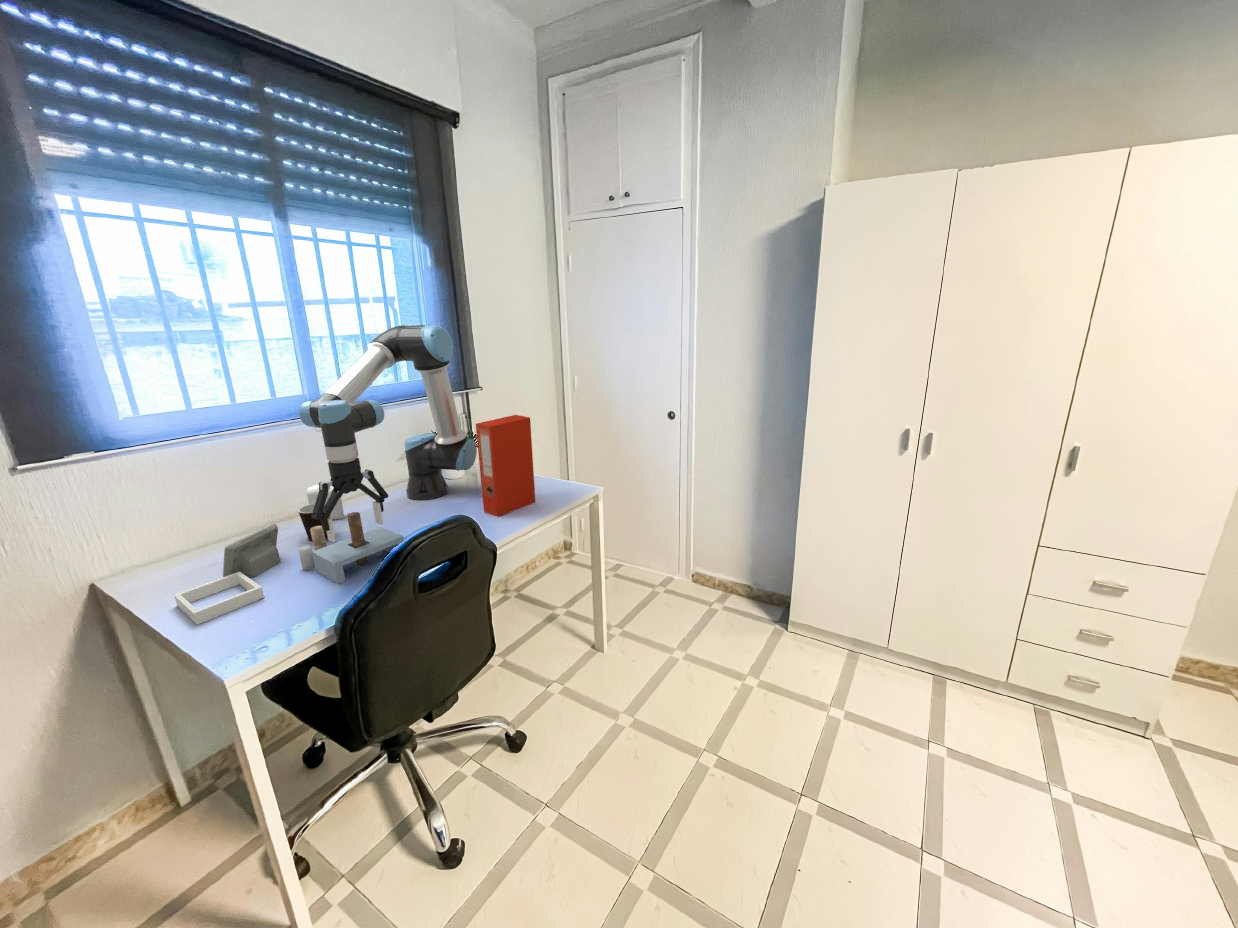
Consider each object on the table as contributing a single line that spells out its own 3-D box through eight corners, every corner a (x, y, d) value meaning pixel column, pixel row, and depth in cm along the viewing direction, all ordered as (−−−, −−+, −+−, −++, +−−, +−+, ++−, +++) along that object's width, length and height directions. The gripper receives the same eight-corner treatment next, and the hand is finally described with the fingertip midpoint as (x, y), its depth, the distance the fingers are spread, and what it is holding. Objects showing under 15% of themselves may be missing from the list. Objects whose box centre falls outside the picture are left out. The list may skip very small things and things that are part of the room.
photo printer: (346, 515, 182) (340, 481, 178) (341, 519, 178) (335, 486, 174) (315, 517, 180) (308, 483, 177) (310, 521, 176) (302, 487, 173)
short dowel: (312, 563, 147) (308, 544, 146) (317, 566, 146) (313, 547, 144) (300, 568, 145) (296, 548, 143) (305, 571, 143) (301, 551, 141)
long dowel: (364, 559, 149) (356, 511, 145) (370, 562, 148) (362, 513, 143) (353, 563, 147) (344, 514, 142) (359, 566, 145) (350, 517, 141)
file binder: (536, 502, 190) (530, 417, 180) (498, 517, 177) (490, 426, 168) (521, 497, 195) (514, 414, 185) (484, 512, 182) (475, 423, 172)
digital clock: (274, 553, 154) (266, 520, 151) (294, 558, 151) (287, 525, 148) (215, 579, 140) (205, 543, 137) (236, 585, 137) (226, 549, 133)
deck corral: (242, 581, 138) (239, 571, 137) (264, 597, 130) (261, 586, 130) (177, 605, 128) (173, 594, 127) (197, 624, 120) (193, 613, 119)
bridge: (383, 544, 158) (380, 526, 157) (406, 554, 152) (403, 536, 150) (316, 571, 143) (311, 551, 141) (337, 583, 136) (333, 563, 134)
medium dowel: (325, 552, 154) (319, 524, 151) (330, 555, 152) (324, 527, 149) (314, 556, 151) (308, 528, 149) (319, 559, 150) (313, 531, 147)
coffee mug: (321, 543, 160) (315, 513, 157) (298, 541, 161) (291, 512, 158) (347, 528, 170) (342, 500, 168) (325, 526, 172) (319, 498, 169)
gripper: (379, 446, 150) (390, 514, 156) (286, 468, 131) (303, 544, 137) (394, 450, 146) (404, 519, 152) (300, 473, 126) (317, 552, 133)
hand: (356, 531), depth 144 cm, fingers open, 13 cm apart
